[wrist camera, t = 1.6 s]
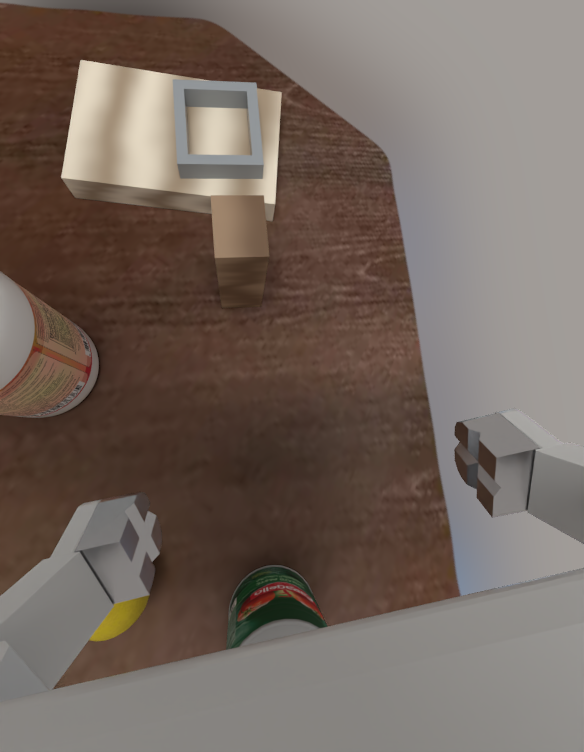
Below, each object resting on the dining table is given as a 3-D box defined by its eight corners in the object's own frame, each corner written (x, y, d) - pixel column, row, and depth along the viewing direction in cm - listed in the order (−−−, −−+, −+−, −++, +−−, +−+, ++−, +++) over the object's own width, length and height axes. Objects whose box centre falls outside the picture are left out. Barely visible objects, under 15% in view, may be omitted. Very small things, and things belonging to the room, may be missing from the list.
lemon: (133, 528, 34) (102, 556, 26) (172, 577, 34) (152, 619, 26) (79, 573, 33) (29, 616, 25) (119, 624, 33) (81, 682, 25)
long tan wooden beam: (221, 308, 38) (214, 257, 28) (218, 260, 39) (210, 193, 28) (261, 306, 39) (269, 256, 28) (257, 259, 40) (263, 193, 29)
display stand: (75, 197, 38) (61, 177, 35) (92, 87, 40) (80, 59, 37) (272, 221, 41) (275, 204, 38) (278, 116, 43) (281, 92, 40)
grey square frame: (180, 178, 37) (177, 163, 35) (175, 97, 38) (172, 79, 36) (262, 178, 38) (263, 164, 36) (255, 100, 39) (256, 82, 37)
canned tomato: (297, 550, 36) (323, 599, 25) (326, 635, 35) (365, 724, 24) (216, 585, 34) (205, 653, 23) (244, 674, 33) (246, 787, 22)
